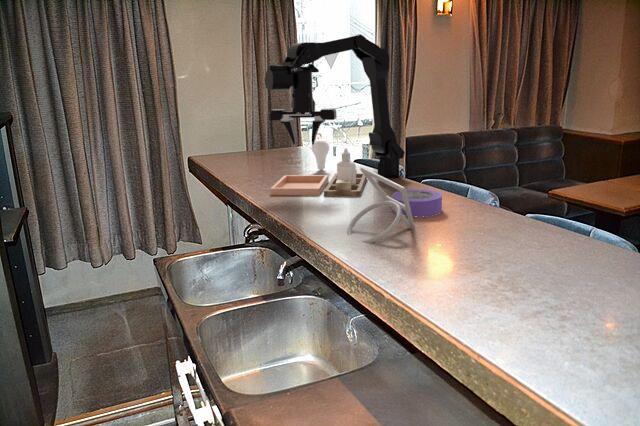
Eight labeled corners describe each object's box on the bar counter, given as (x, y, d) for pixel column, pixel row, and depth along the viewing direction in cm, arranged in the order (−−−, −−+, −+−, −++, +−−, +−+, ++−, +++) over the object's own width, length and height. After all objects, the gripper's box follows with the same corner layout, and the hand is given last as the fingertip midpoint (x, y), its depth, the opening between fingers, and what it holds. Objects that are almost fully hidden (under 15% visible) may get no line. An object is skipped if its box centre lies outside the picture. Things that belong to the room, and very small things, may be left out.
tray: (328, 182, 164) (328, 175, 163) (319, 197, 147) (319, 188, 146) (284, 183, 166) (284, 175, 165) (270, 197, 149) (270, 188, 148)
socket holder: (366, 179, 167) (366, 173, 166) (360, 198, 144) (360, 191, 143) (335, 179, 168) (335, 173, 168) (324, 198, 145) (323, 191, 145)
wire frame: (351, 253, 119) (315, 203, 112) (394, 217, 121) (362, 166, 114) (391, 286, 104) (352, 231, 96) (440, 244, 105) (405, 186, 98)
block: (351, 193, 150) (351, 179, 149) (350, 196, 146) (349, 182, 145) (337, 193, 151) (337, 179, 150) (335, 196, 147) (335, 182, 146)
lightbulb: (330, 171, 181) (328, 139, 178) (312, 172, 181) (310, 140, 178) (330, 168, 186) (329, 137, 183) (312, 169, 187) (311, 138, 184)
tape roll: (402, 223, 121) (402, 202, 119) (385, 210, 132) (385, 191, 130) (449, 218, 123) (450, 198, 121) (429, 206, 134) (430, 187, 132)
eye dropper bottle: (344, 191, 152) (343, 150, 149) (336, 187, 157) (334, 148, 154) (357, 189, 154) (357, 148, 150) (349, 186, 159) (348, 146, 155)
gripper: (338, 87, 154) (339, 140, 159) (276, 88, 157) (278, 141, 161) (333, 89, 144) (334, 146, 148) (267, 90, 147) (270, 146, 151)
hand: (303, 144), depth 152 cm, fingers open, 5 cm apart
